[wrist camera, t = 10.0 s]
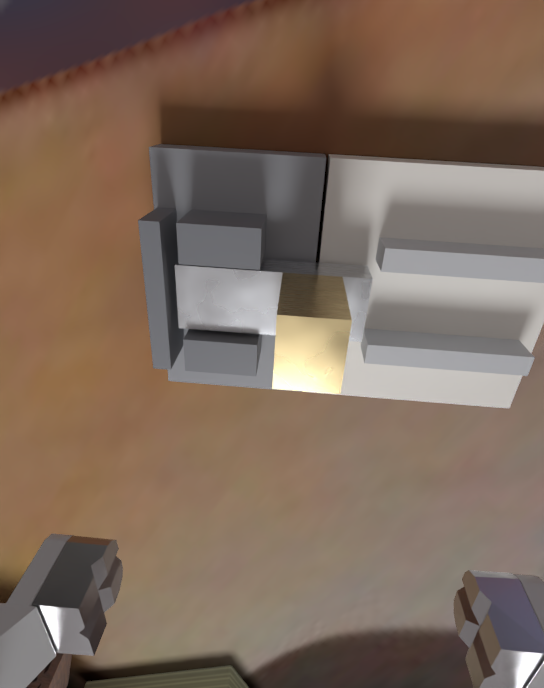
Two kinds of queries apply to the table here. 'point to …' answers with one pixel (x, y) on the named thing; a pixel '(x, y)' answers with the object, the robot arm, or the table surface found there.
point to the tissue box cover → (54, 673)
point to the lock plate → (358, 249)
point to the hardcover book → (177, 679)
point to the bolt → (283, 313)
